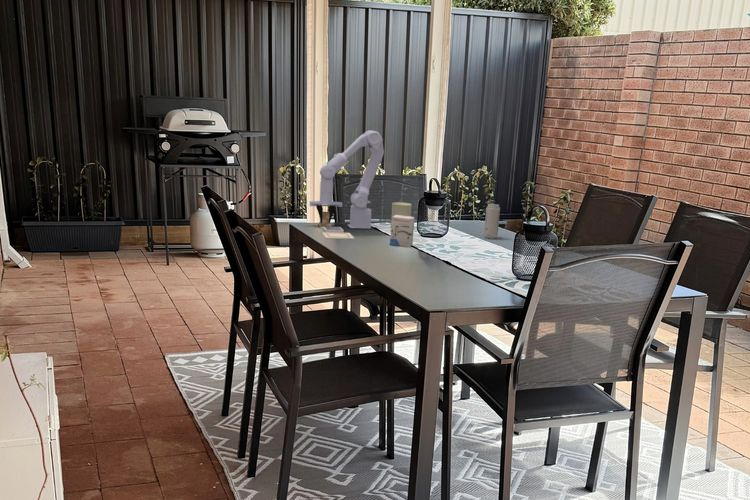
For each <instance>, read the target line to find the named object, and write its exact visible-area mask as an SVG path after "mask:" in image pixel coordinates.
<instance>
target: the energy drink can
mask: <svg viewBox="0 0 750 500" xmlns="http://www.w3.org/2000/svg"><path fill="white" fill-rule="evenodd" d="M500 213H501V207H500V204H496V203H488V204H487V207H486V208H485V219H484V229H483V231H484V232H483V236H484V239H487V238H489V239H488V240H496V239H497V238H498V235H499V225H500V224H499V223H500V216H501V215H500ZM495 238H496V239H495Z"/></svg>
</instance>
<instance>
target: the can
mask: <svg viewBox="0 0 750 500" xmlns="http://www.w3.org/2000/svg"><path fill="white" fill-rule="evenodd" d="M412 206H413V205H412V203H409V202H403V201H402V202H401V201H398V202H397V201H395V202H392V203H391V218H390V229H391V225H392V217H393V216H394V215H402V216H410V217H412Z"/></svg>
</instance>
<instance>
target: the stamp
mask: <svg viewBox="0 0 750 500" xmlns="http://www.w3.org/2000/svg"><path fill="white" fill-rule="evenodd" d="M319 226H320V227H332V223H331V222H330V223H329V211H323V213H322V223H321V222H320V221H319V222H318V227H319ZM320 227H319V228H320Z"/></svg>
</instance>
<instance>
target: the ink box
mask: <svg viewBox="0 0 750 500" xmlns="http://www.w3.org/2000/svg"><path fill="white" fill-rule="evenodd" d="M390 227H391V228H390V239H389V245H390V246H397V247H405V248H410V247H412V246H413V244H414V243H413V242H414V231H415V229H414V228H415V216H411V217H410V216H402V215H394V216H393V217H392V225H391V224H390Z"/></svg>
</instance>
